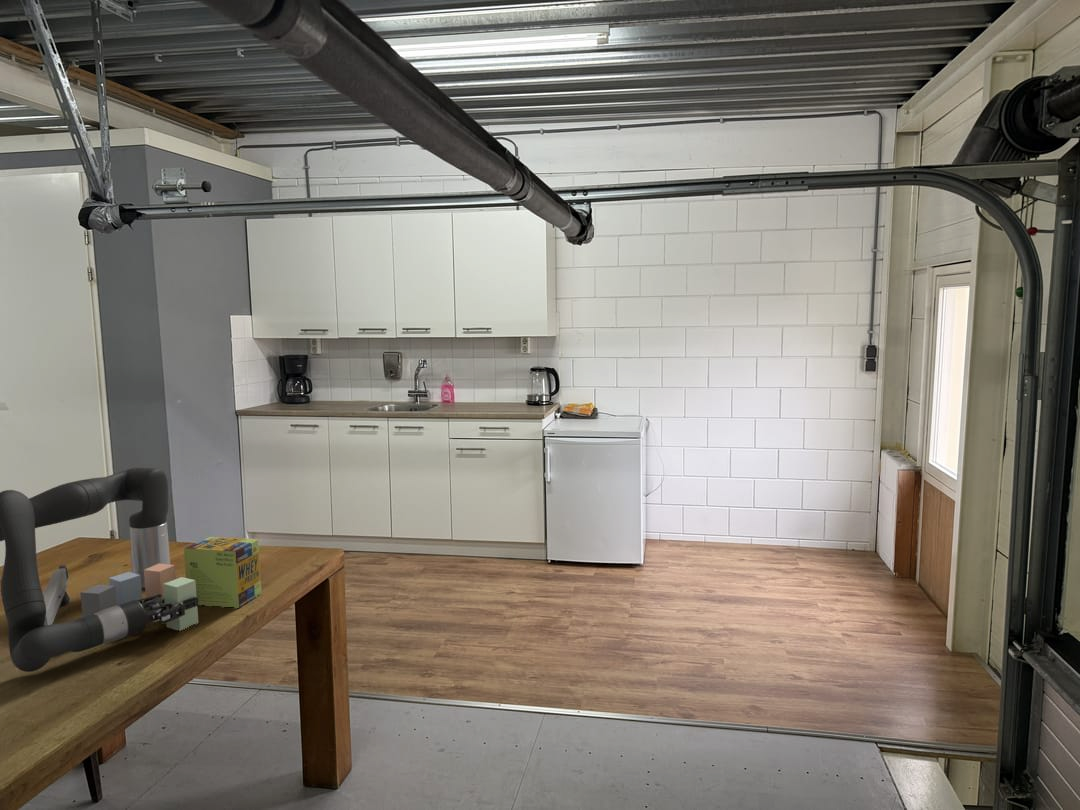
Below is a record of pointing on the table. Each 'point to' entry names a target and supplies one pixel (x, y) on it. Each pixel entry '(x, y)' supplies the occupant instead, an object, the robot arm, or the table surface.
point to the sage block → (178, 593)
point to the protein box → (224, 570)
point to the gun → (56, 593)
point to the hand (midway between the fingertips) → (190, 598)
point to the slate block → (127, 587)
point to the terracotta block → (158, 578)
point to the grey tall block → (98, 599)
